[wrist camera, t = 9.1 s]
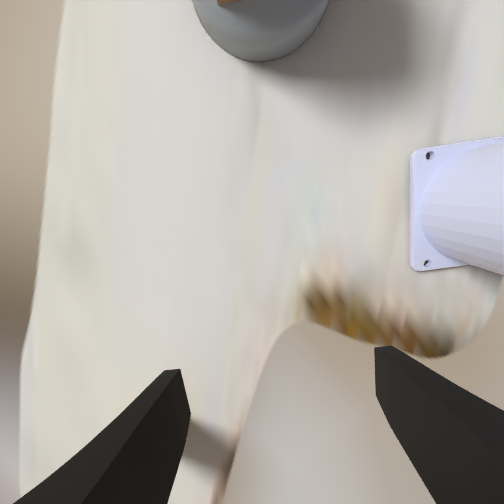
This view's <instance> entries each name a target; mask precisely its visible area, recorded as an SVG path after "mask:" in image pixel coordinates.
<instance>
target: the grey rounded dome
mask: <svg viewBox="0 0 504 504" xmlns="http://www.w3.org/2000/svg"><path fill="white" fill-rule="evenodd" d="M192 2H193V5H194V8H195V10H196V13H197V16H198V18H199V20H200V22H201V24H202V26H203V27H204V29H205V30H206V32H207V33H208V35H209V36H210V37H211V38H212V40H213V41H214V42H215V43H217V44H218V45H219V46H220V47H221V48H222V49H224V50H225V51H226V52H228V53H230V54H232V55H234V56H236V57H238V58H241V59H244V60H249V61H260V62H261V61H270V60H274V59H278V58H281V57H283V56H285V55H287V54H289V53H291V52H293V51H294V50H296V49H297V48H298V47H299V46H301V45H302V44H303V43H304V42H305V41H306V40H307V39H308V38H309V37H310V36H311V34H312V33H313V32H314V30H315V29H316V27H317V26H318V24H319V22H320V21H321V19H322V16H323V14H324V12H325V10H326V7H327V4H328V2H329V0H243V1H238V2H233V3H228V4H223V5H218V3H217V0H192Z"/></svg>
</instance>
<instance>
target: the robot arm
mask: <svg viewBox="0 0 504 504" xmlns="http://www.w3.org/2000/svg"><path fill="white" fill-rule="evenodd" d="M427 153H429V154H430V158H429V160H427V159H426V154H427ZM426 260H428V263H427V264H426V265H425V266H424V262H425V261H426ZM466 265H474V266H477V267H480V268H483V269H486V270H488V271H491V272H494V273H497V274H500V275H503V276H504V136H501V137H495V138H488V139H481V140H475V141H468V142H461V143H455V144H448V145H442V146H435V147H428V148H422V149H418V150H415V151H414V152H413V153H412V154H411V157H410V267H411V268H412V269H414V270H416V271H426V270H434V269H442V268H450V267H458V266H466ZM374 352H375V383H376V396H377V398H378V401H379V403H380V405H381V408H382V410H383V412H384V414H385V416H386V418H387V420H388V423H389V424H390V426H391V428H392V430H393V432H394V433H395V435H396V437H397V438H398V440H399V442H400V444H401V445H402V447H403V449H404V450H405V452H406V454H407V455H408V457H409V459H410V460H411V462H412V464H413V466H414V467H415V469H416V471H417V472H418V474H419V476H420V477H421V479H422V481H423V482H424V484H425V486H426V487H427V489H428V490H429V492H430V494H431V495H432V497H433V499H434V501H435V502H436V504H504V411H503V410H501V409H499V408H497V407H496V406H494V405H492V404H490V403H488V402H486V401H485V400H483V399H481V398H479V397H477V396H475V395H473V394H472V393H470V392H468V391H466V390H465V389H463V388H461V387H459V386H458V385H456V384H454V383H452V382H451V381H449V380H448V379H446V378H444V377H443V376H441V375H439V374H438V373H436V372H434V371H433V370H431V369H429V368H428V367H426V366H424V365H423V364H421V363H420V362H418V361H416V360H415V359H413V358H411V357H410V356H408V355H407V354H405V353H403V352H402V351H400V350H398V349H397V348H395V347H393V346H384V347H375V349H374ZM190 415H191V412H190V408H189V404H188V399H187V395H186V391H185V387H184V383H183V379H182V374H181V370H180V369H174V370H165V371H163V372H162V373H161V374H160V375H159V376H158V377H157V378H156V379H155V380H154V381H153V382H152V383H151V384H150V385H149V386H148V387H147V388H146V389H145V390H144V391H143V392H142V393H141V394H140V395H139V396H138V397H137V398H136V399H135V400H134V401H133V402H132V403H131V404H130V405H129V406H128V407H127V408H126V409H125V410H124V411H123V412H122V413H121V414H120V415H119V416H118V417H117V418H115V419H114V420H113V421H112V422H111V423H110V424H109V425H108V426H107V427H106V428H105V429H104V430H102V431H101V432H100V433H99V434H98V435H97V436H96V437H95V438H94V439H93V440H92V441H90V442H89V443H88V444H87V445H86V446H85V447H84V448H83V449H81V450H80V451H79V452H78V453H77V454H76V455H74V456H73V457H72V458H71V459H70V460H69V461H67V462H66V463H65V464H64V465H62V466H61V467H60V468H59V469H58V470H56V471H55V472H54V473H53V474H51V475H50V476H49V477H48V478H46V479H45V480H44V481H43V482H41V483H40V484H39V485H38V486H36V487H35V488H34V489H32V490H31V491H30V492H28V493H27V494H25V495H24V496H23V497H21V498H20V499H19V500H17V501H16V502H15V503H13V504H167V503H168V499H169V496H170V493H171V489H172V486H173V483H174V480H175V476H176V473H177V470H178V466H179V463H180V460H181V456H182V453H183V450H184V446H185V442H186V437H187V432H188V427H189V421H190Z"/></svg>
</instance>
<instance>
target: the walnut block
mask: <svg viewBox="0 0 504 504" xmlns="http://www.w3.org/2000/svg"><path fill="white" fill-rule="evenodd" d="M238 1H243V0H217V3H218V5H223V4H228V3H233V2H238Z"/></svg>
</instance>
